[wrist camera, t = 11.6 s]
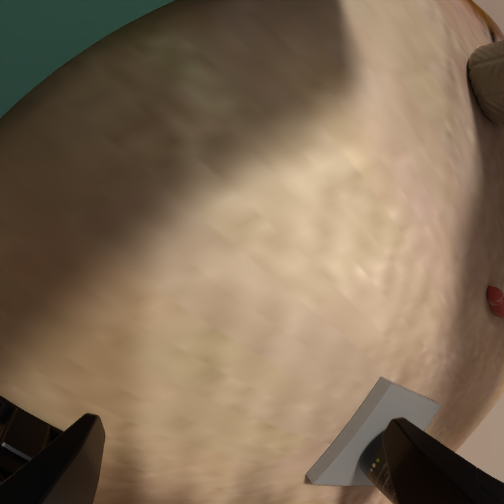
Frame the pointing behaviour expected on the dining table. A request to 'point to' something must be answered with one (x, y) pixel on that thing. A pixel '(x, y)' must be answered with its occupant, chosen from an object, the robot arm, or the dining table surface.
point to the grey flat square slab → (370, 432)
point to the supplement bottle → (378, 468)
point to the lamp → (489, 79)
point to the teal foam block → (54, 37)
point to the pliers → (496, 301)
